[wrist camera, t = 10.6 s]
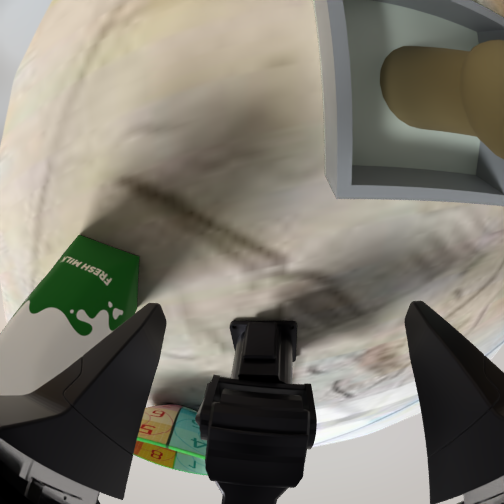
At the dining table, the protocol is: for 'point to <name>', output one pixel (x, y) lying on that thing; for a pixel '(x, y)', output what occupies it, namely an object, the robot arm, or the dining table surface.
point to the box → (382, 118)
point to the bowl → (171, 439)
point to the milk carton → (67, 314)
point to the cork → (449, 90)
